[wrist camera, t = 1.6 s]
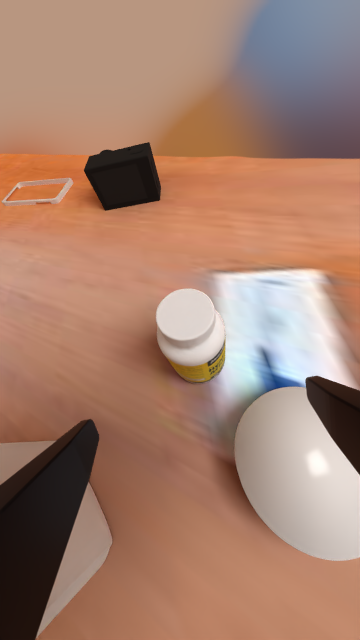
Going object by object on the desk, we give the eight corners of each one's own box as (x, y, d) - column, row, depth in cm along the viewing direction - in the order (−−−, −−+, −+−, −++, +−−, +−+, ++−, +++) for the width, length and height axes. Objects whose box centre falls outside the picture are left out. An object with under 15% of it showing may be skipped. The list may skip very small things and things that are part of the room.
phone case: (75, 183, 47) (23, 187, 51) (71, 177, 45) (18, 181, 49) (60, 205, 44) (5, 208, 47) (55, 199, 42) (0, 202, 46)
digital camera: (161, 182, 40) (150, 137, 34) (160, 200, 37) (148, 154, 31) (110, 193, 41) (90, 151, 35) (105, 211, 39) (83, 169, 33)
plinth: (403, 470, 16) (432, 476, 14) (313, 583, 14) (329, 611, 12) (287, 369, 20) (294, 361, 18) (209, 445, 19) (207, 446, 17)
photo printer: (124, 544, 17) (-58, 740, 6) (78, 593, 16) (-227, 920, 5) (70, 432, 21) (-85, 430, 11) (33, 465, 21) (-174, 498, 10)
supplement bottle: (219, 391, 21) (214, 361, 12) (167, 376, 22) (131, 341, 14) (230, 340, 23) (232, 285, 14) (182, 330, 24) (159, 275, 16)
